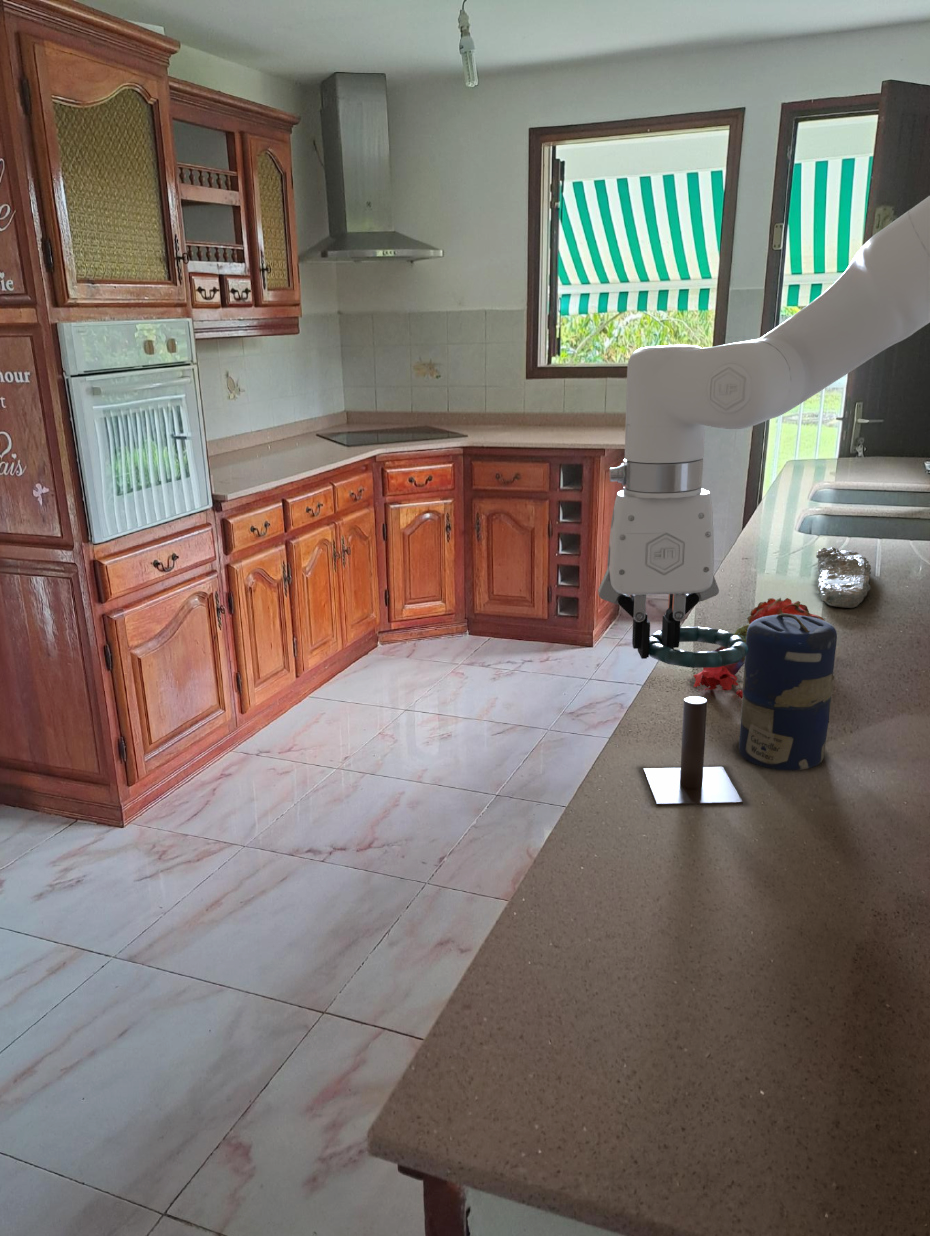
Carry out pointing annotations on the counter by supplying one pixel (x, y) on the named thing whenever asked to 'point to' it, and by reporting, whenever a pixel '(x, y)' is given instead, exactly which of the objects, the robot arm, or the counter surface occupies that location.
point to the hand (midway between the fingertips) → (655, 653)
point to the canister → (787, 691)
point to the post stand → (692, 767)
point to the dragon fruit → (779, 609)
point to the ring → (700, 658)
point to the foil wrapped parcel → (842, 577)
